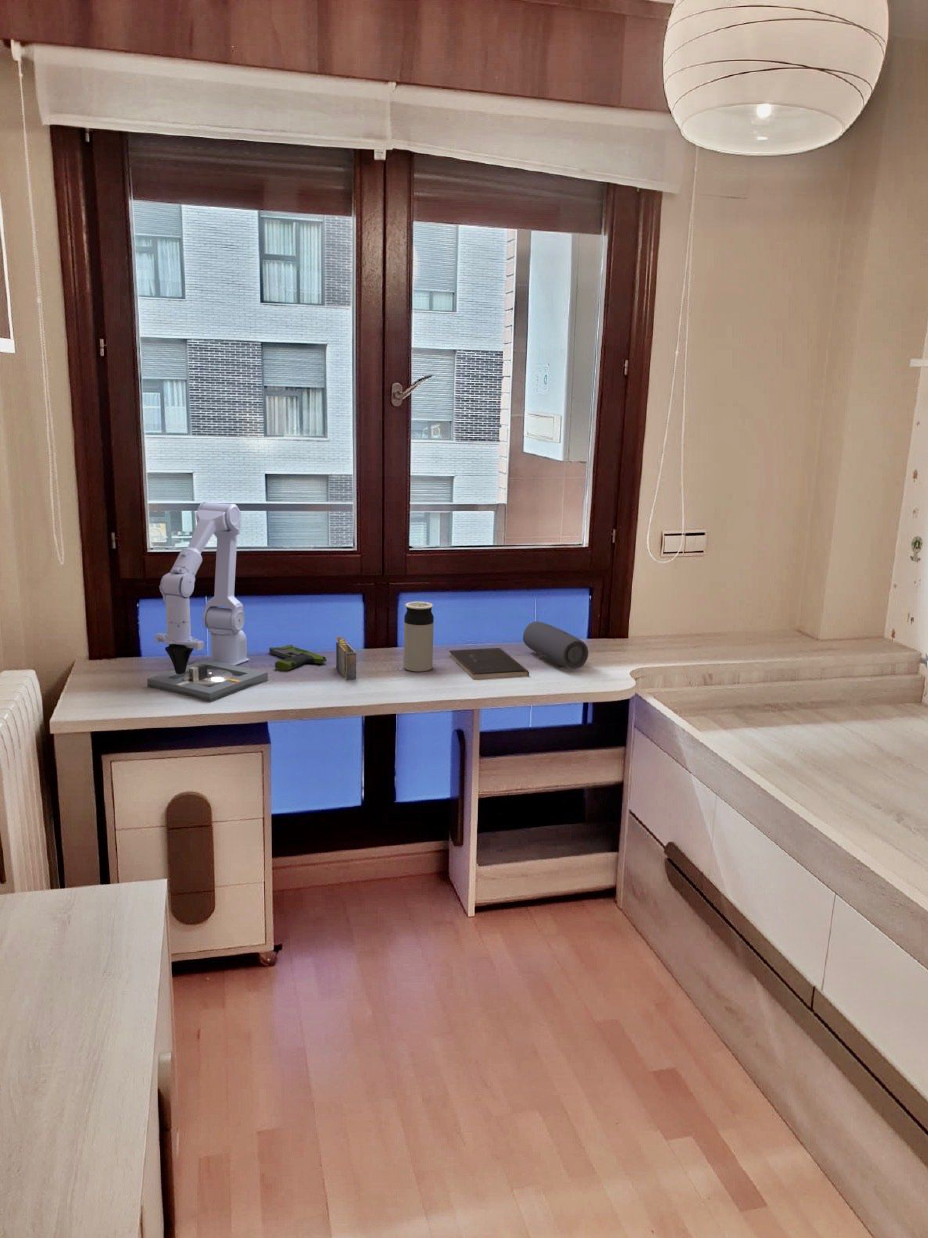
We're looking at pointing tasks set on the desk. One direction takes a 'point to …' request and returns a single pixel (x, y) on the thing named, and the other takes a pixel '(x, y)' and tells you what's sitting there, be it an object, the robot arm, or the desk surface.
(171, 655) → the robot arm
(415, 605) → the travel mug
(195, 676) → the dial
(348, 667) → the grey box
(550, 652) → the bluetooth speaker
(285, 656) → the gun
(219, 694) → the dial plate
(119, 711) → the desk surface
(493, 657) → the hardcover book
